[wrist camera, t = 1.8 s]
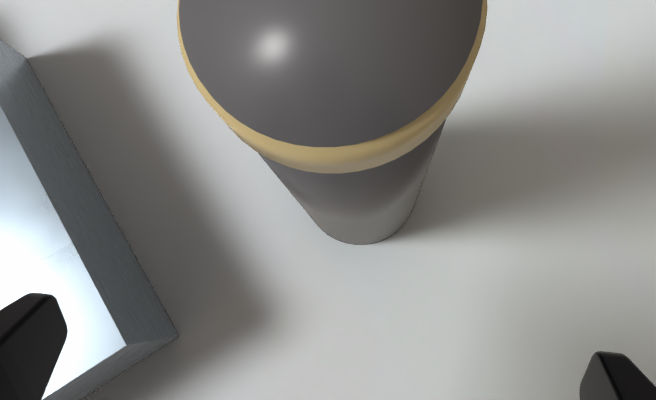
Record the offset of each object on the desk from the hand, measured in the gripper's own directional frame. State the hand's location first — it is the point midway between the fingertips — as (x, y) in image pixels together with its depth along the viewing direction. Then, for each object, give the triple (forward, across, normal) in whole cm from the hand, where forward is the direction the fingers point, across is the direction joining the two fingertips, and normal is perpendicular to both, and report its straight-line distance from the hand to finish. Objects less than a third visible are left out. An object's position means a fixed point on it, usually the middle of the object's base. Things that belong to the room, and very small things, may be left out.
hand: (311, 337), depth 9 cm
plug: (+12, 0, +5) cm, 13 cm away
